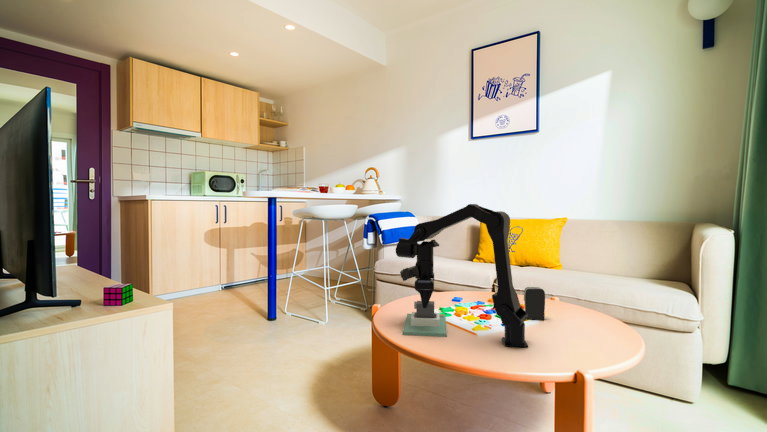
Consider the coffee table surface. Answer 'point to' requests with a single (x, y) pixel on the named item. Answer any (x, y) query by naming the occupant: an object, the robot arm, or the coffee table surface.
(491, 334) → the coffee table surface
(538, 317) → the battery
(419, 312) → the plug
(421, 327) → the board
